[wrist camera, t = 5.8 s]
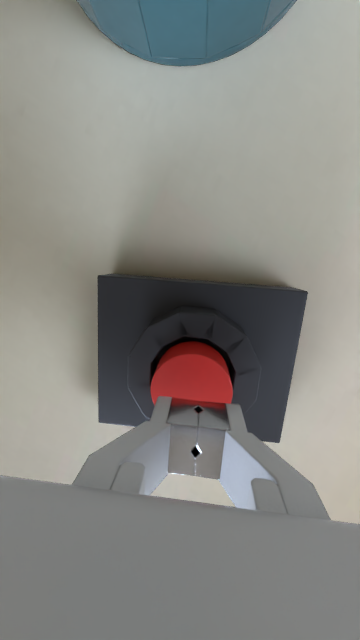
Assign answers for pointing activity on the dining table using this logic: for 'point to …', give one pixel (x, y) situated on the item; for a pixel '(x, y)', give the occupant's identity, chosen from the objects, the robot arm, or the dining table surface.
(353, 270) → the dining table surface
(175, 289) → the box
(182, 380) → the release button
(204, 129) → the dining table surface
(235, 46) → the storage jar
